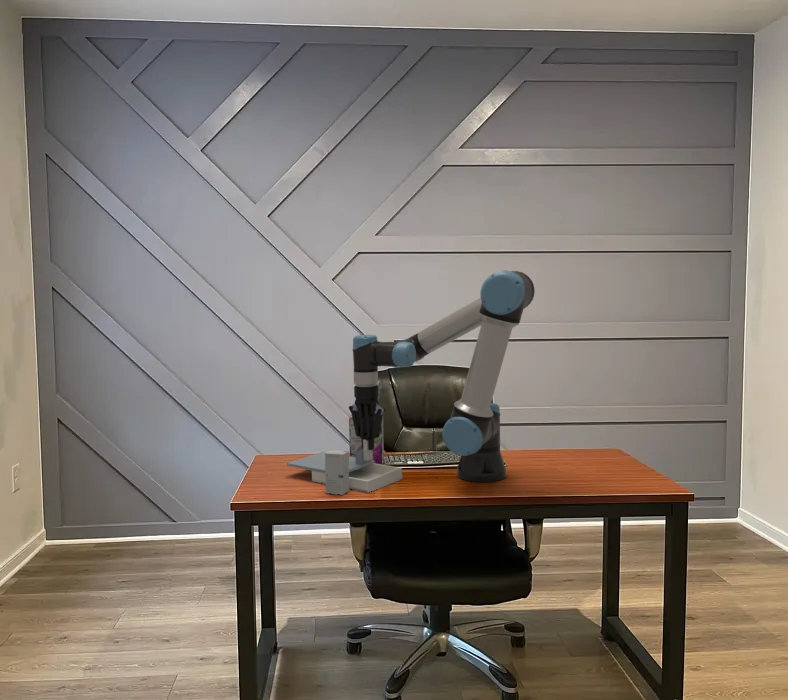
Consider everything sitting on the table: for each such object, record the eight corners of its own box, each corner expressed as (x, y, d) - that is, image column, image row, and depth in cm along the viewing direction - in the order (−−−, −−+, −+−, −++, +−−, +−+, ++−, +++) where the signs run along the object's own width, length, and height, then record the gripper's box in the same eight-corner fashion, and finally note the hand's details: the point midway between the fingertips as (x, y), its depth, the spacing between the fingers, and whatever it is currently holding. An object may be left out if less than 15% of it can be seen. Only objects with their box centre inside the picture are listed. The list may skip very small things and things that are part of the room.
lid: (374, 463, 221) (374, 448, 220) (339, 475, 207) (338, 459, 207) (323, 454, 234) (322, 440, 234) (286, 465, 220) (286, 450, 220)
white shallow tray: (402, 479, 215) (401, 467, 215) (367, 493, 201) (367, 481, 201) (347, 469, 228) (347, 458, 228) (312, 481, 214) (311, 470, 214)
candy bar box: (349, 465, 233) (348, 417, 231) (352, 461, 238) (350, 414, 236) (382, 465, 232) (381, 417, 230) (384, 461, 237) (383, 414, 235)
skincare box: (324, 493, 202) (323, 452, 201) (331, 489, 206) (330, 449, 205) (344, 495, 200) (342, 454, 199) (350, 491, 204) (349, 450, 203)
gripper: (390, 384, 214) (392, 459, 216) (357, 381, 222) (359, 454, 224) (375, 388, 208) (377, 465, 210) (342, 385, 216) (344, 459, 218)
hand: (368, 459), depth 217 cm, fingers closed
